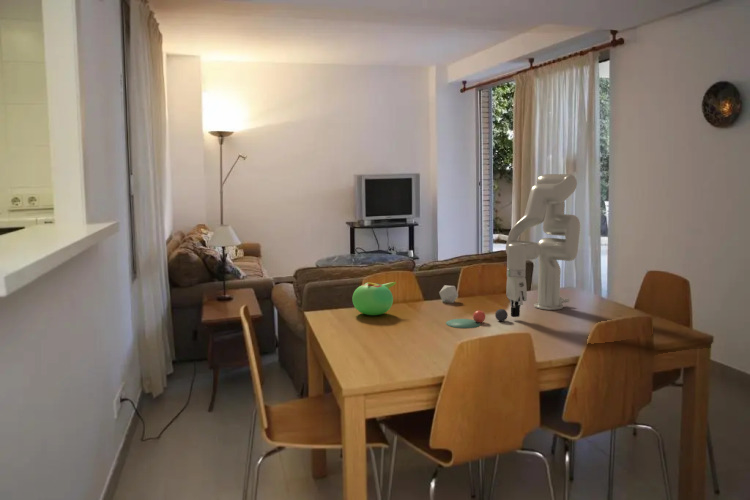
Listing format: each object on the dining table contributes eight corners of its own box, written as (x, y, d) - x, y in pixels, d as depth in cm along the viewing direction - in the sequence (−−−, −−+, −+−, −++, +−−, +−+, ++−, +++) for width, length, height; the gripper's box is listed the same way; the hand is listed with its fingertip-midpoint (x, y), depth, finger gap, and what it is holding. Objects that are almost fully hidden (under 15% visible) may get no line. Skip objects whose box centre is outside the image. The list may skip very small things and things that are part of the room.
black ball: (492, 309, 237) (494, 321, 238) (497, 312, 232) (499, 324, 233) (502, 306, 238) (505, 317, 239) (508, 308, 233) (510, 320, 234)
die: (460, 302, 273) (452, 284, 277) (461, 297, 266) (452, 279, 269) (444, 308, 273) (436, 291, 277) (445, 303, 265) (436, 285, 269)
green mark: (472, 318, 240) (472, 317, 240) (486, 326, 227) (486, 326, 227) (441, 320, 237) (441, 320, 237) (453, 329, 224) (453, 328, 224)
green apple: (346, 316, 246) (345, 283, 244) (364, 308, 261) (364, 276, 259) (383, 321, 238) (382, 286, 236) (400, 312, 253) (400, 279, 251)
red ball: (479, 307, 236) (469, 312, 235) (484, 309, 231) (474, 315, 230) (484, 317, 237) (473, 323, 236) (489, 320, 232) (478, 326, 231)
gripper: (533, 275, 228) (532, 320, 231) (516, 269, 243) (515, 311, 245) (516, 276, 226) (515, 321, 229) (499, 270, 241) (499, 312, 243)
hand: (515, 316), depth 237 cm, fingers closed
